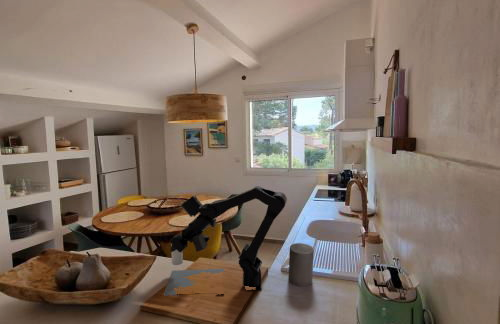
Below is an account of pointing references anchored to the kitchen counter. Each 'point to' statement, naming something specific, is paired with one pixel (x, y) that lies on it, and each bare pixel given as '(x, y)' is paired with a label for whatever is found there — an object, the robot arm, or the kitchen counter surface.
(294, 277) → the pillar candle
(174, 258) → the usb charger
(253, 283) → the robot arm
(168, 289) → the desk mat
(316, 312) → the kitchen counter surface
